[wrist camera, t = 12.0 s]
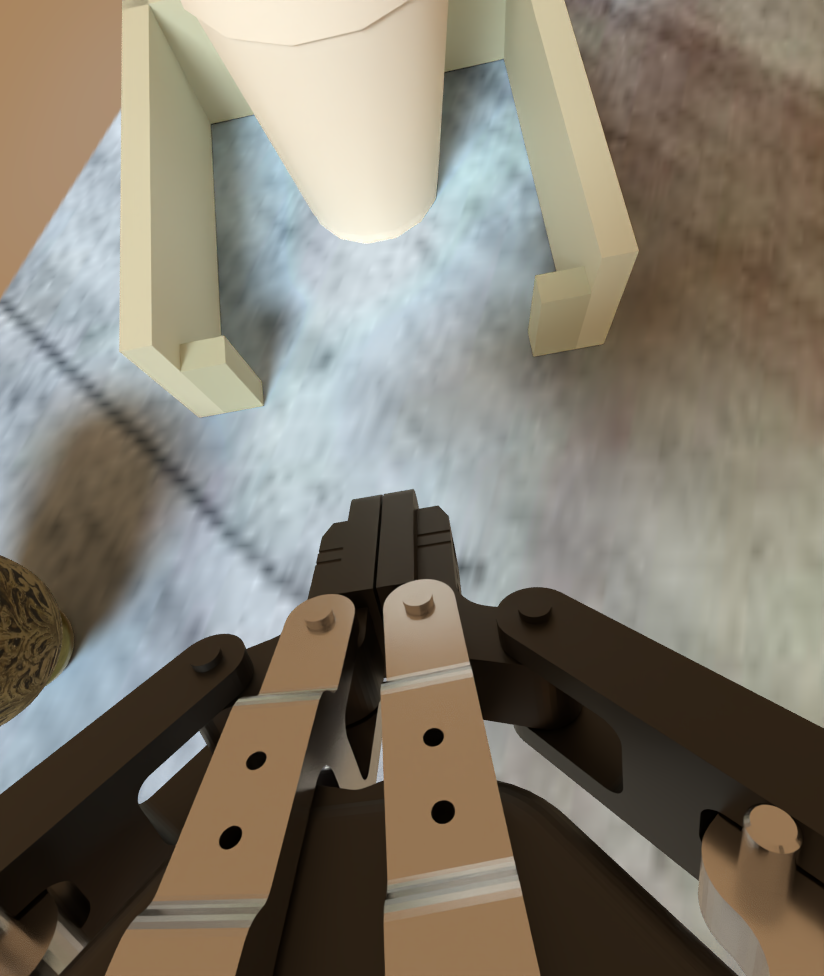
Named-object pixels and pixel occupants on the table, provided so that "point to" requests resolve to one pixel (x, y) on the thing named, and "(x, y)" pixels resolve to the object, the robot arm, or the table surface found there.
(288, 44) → the foam cup
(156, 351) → the walled box
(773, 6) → the table surface
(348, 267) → the table surface
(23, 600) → the cup
